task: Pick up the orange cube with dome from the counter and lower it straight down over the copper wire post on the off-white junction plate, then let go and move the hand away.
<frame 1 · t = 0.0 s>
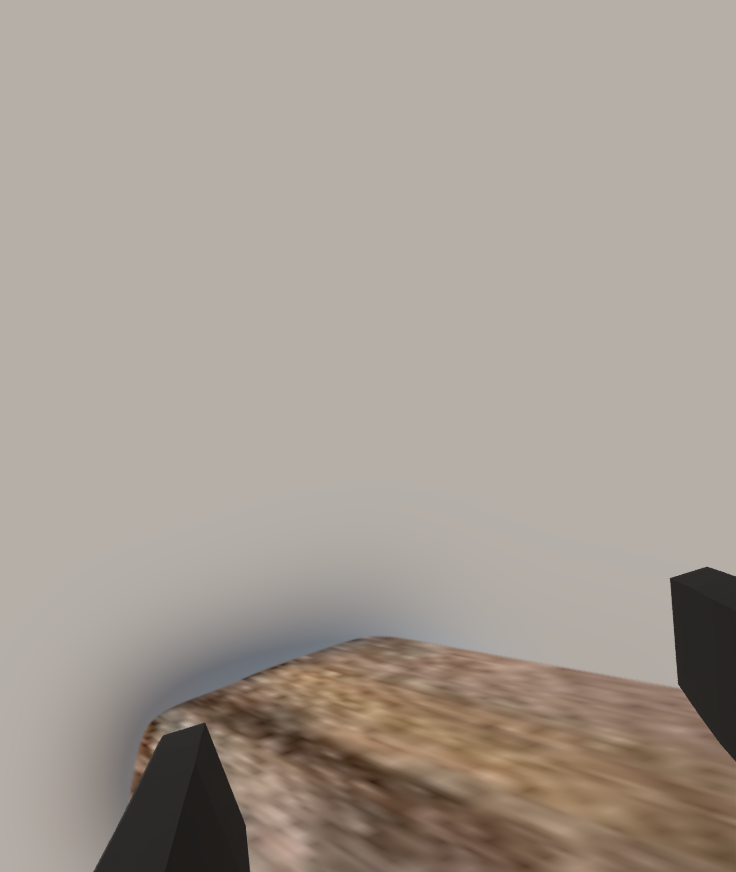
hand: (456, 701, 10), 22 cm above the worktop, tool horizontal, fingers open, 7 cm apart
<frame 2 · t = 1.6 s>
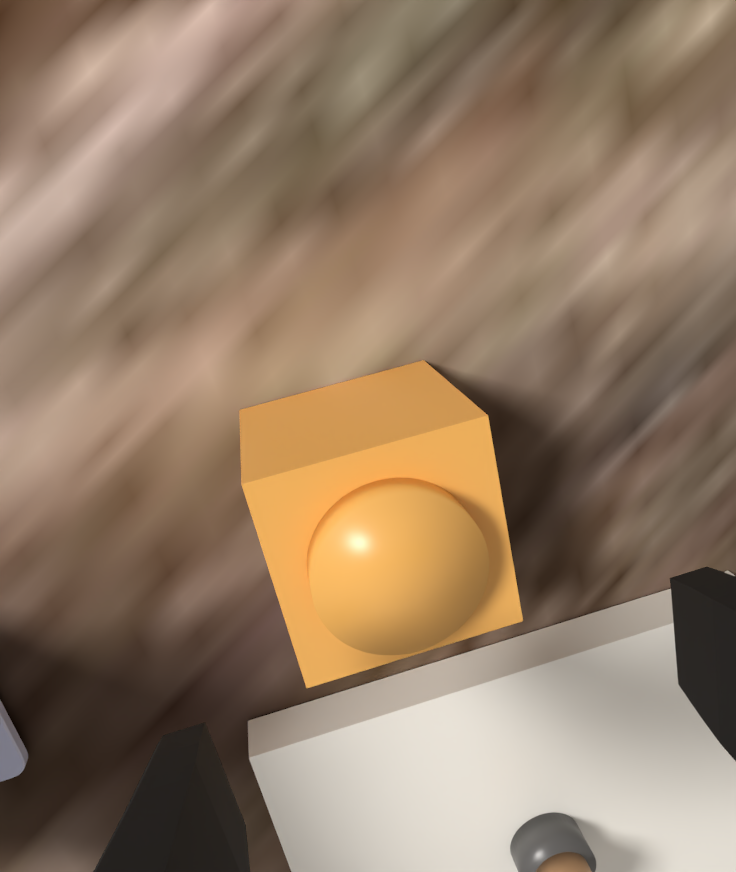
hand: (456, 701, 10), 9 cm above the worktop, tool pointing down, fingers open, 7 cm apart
orange cube with dome: (354, 470, 19), on the worktop
junction plate: (526, 803, 24), on the worktop
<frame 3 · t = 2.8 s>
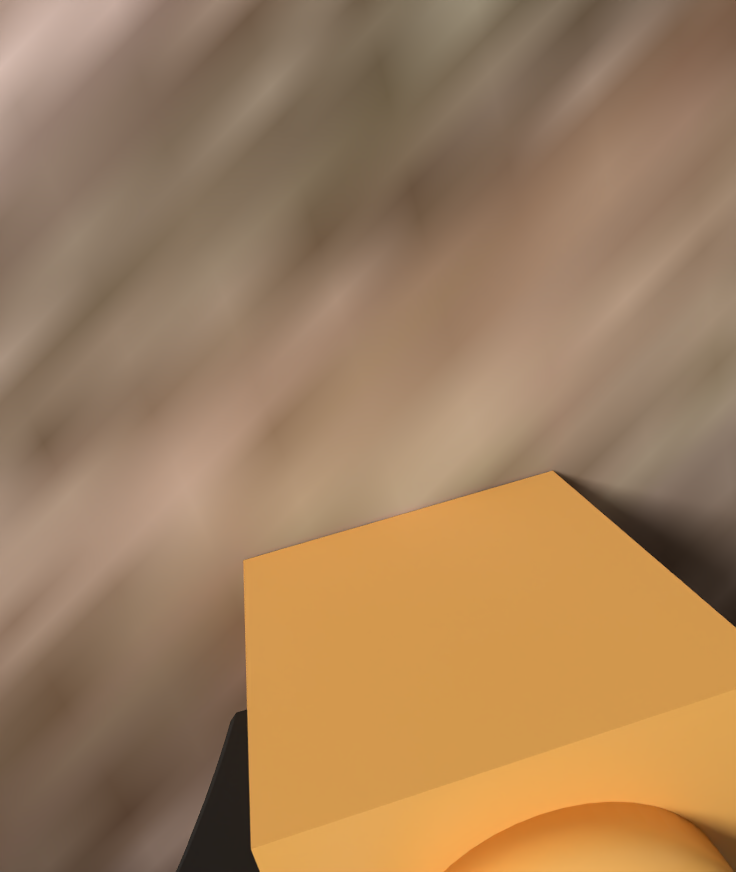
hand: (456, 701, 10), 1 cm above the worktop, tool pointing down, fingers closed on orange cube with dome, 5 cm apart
orange cube with dome: (431, 644, 12), on the worktop, touching gripper
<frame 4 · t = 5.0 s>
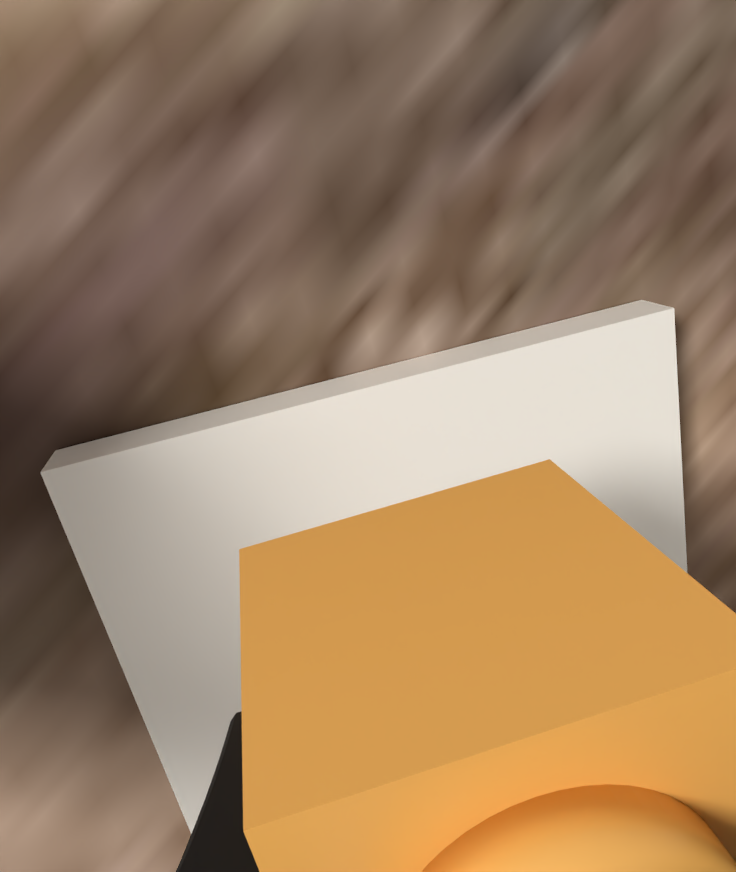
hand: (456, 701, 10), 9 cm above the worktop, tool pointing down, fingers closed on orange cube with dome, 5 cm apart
orange cube with dome: (428, 634, 12), point 8 cm above the worktop, touching gripper
junction plate: (410, 593, 21), on the worktop
when the fingers open (3 cm above the worktop, at t = 7.3 s): orange cube with dome stays where it is, resting on junction plate.
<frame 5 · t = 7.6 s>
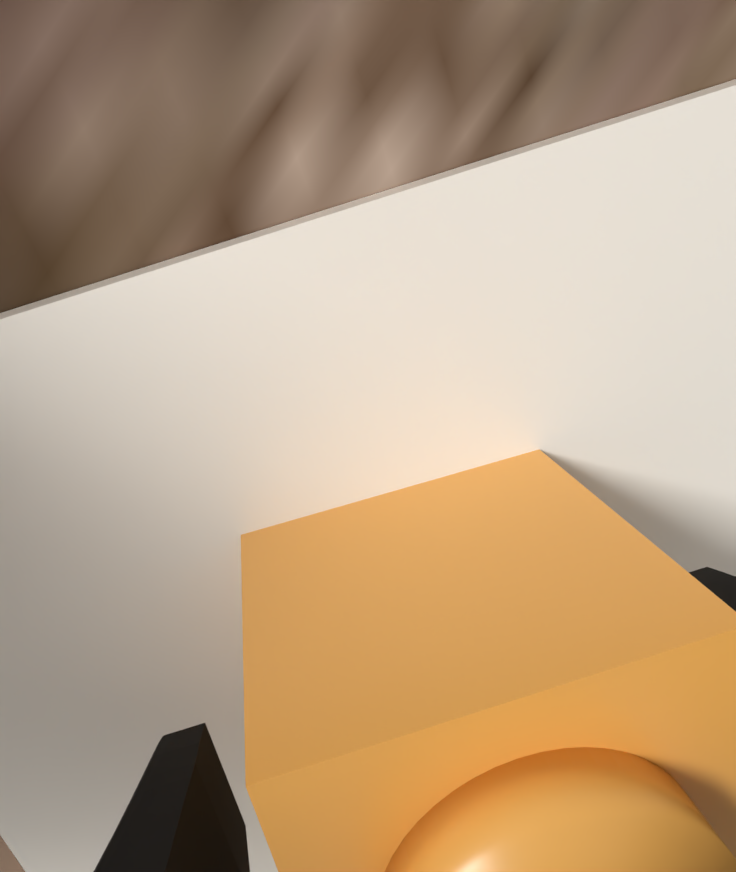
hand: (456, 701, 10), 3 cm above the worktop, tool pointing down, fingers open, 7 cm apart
orange cube with dome: (422, 618, 12), point 1 cm above the worktop, touching junction plate
junction plate: (404, 582, 13), on the worktop
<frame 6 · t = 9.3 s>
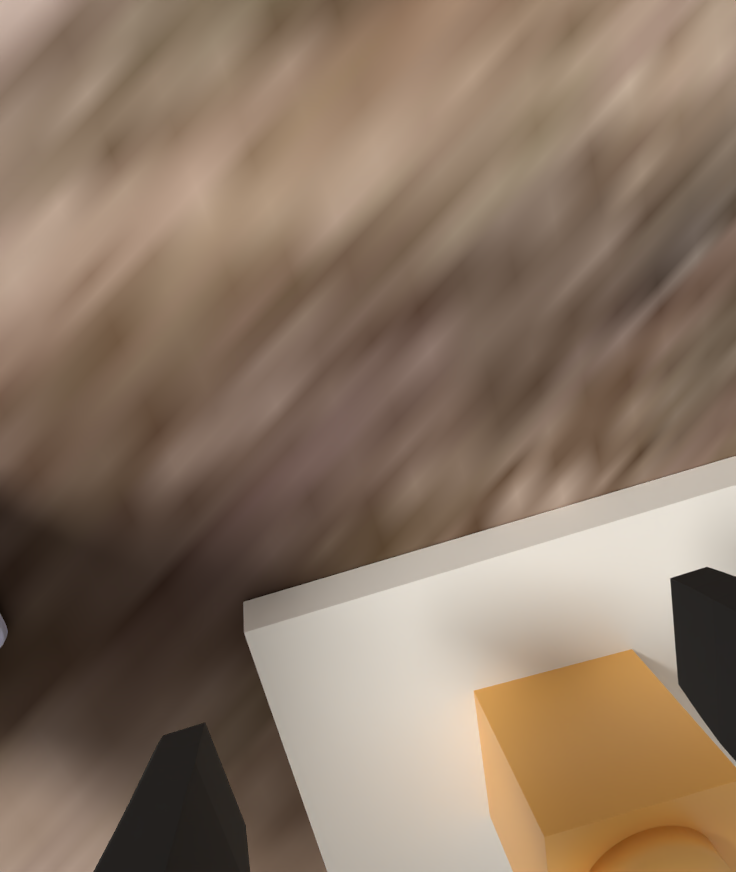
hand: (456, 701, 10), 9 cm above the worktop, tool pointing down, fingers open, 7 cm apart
orange cube with dome: (559, 734, 22), point 1 cm above the worktop, touching junction plate
junction plate: (539, 706, 23), on the worktop
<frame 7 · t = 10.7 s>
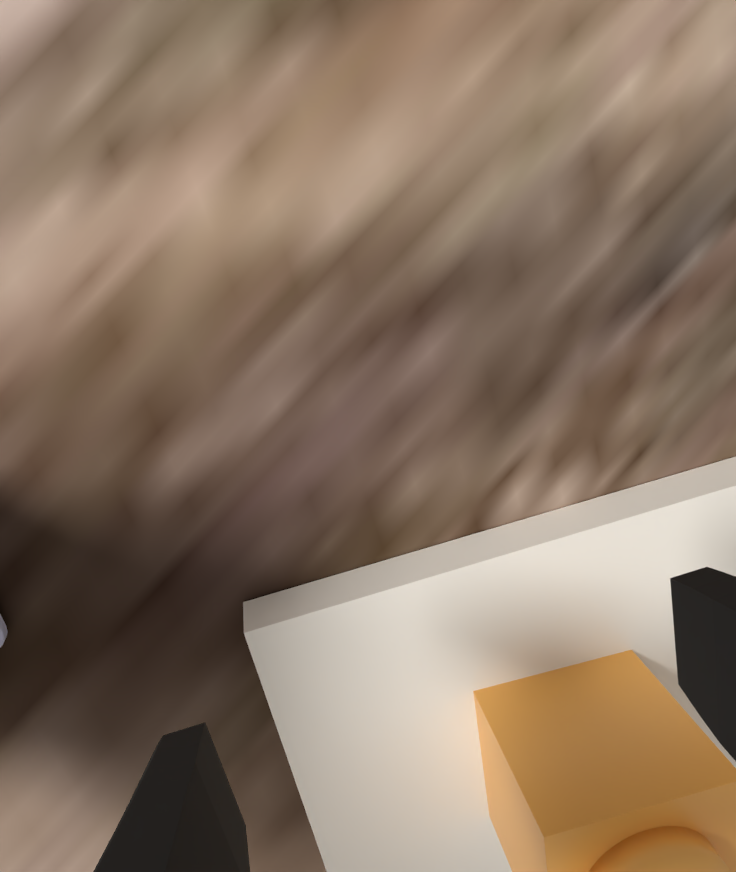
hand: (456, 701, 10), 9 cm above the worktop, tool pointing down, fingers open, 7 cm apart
orange cube with dome: (558, 735, 22), point 1 cm above the worktop, touching junction plate
junction plate: (538, 706, 23), on the worktop
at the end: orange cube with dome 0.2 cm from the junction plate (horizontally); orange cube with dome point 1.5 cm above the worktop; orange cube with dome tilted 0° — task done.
